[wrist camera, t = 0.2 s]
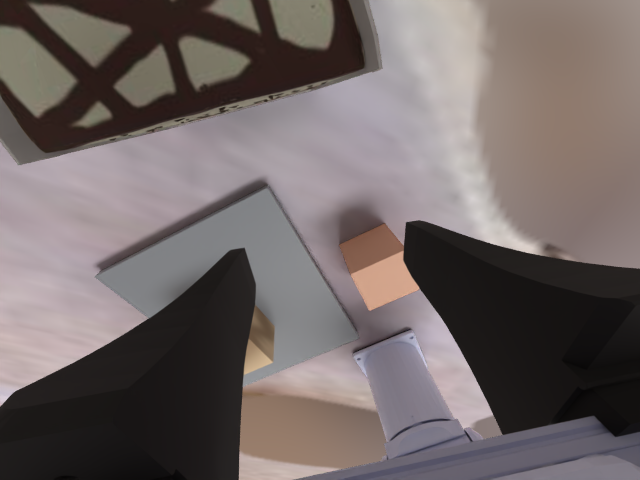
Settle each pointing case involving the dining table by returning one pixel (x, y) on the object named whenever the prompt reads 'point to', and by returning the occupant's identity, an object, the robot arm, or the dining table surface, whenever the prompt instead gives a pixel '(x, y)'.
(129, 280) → the slate board
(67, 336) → the dining table surface
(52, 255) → the dining table surface
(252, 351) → the oak base block
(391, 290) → the terracotta block
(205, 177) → the dining table surface
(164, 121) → the food container
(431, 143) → the dining table surface
